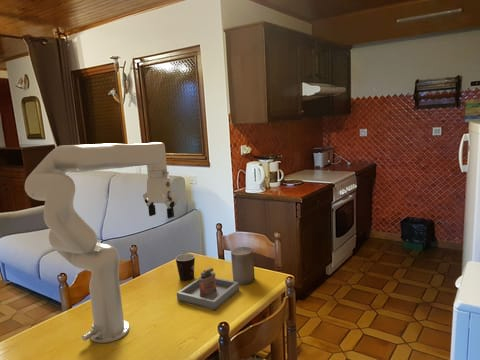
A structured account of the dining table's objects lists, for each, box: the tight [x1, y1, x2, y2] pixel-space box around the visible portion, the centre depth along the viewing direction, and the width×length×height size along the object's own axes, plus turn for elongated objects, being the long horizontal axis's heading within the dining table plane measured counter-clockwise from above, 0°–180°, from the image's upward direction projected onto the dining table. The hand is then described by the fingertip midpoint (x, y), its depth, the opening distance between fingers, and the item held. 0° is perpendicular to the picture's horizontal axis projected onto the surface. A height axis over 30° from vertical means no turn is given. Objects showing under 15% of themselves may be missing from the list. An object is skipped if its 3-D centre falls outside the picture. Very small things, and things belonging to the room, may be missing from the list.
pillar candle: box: [230, 246, 256, 286], centre depth 158 cm, size 10×10×15 cm
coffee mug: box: [175, 253, 196, 282], centre depth 162 cm, size 12×9×10 cm
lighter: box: [197, 267, 217, 297], centre depth 146 cm, size 8×3×10 cm, turn 136°
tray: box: [176, 276, 240, 312], centre depth 146 cm, size 18×18×4 cm
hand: (161, 216), depth 144 cm, fingers open, 9 cm apart
